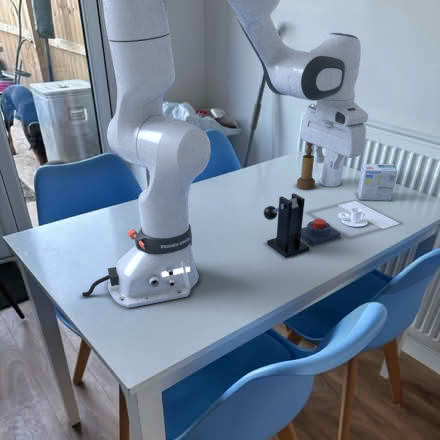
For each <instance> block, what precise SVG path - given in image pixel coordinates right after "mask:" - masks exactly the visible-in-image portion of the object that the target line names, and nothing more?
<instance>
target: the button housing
mask: <svg viewBox="0 0 440 440" xmlns="http://www.w3.org/2000/svg"><path fill="white" fill-rule="evenodd" d="M340 238H341V232H340V231H339V230H337V229H335V228H333V227H332V226H331V224H330V223H329V222H326V225H325V228H323V229H316V228H314V227H313V220H312V221H309V222H308V223H307V224H306V226H305V227H302V230H301V239H300V240H303V241H304V242H305V243H307V244H309V245H310V246H312V247H314V246H317V245H321V244H324V243H328V242H330V241H331V242H332V241H334V240H338V239H340Z"/></svg>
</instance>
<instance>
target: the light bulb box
mask: <svg viewBox="0 0 440 440" xmlns="http://www.w3.org/2000/svg"><path fill="white" fill-rule="evenodd" d="M397 175H398V169H397V167H396V166H395V164H393V163H362V164H361V169H360V176H359V181H358V188H357V196H358V198H359V200H360V201H386V202H388V201H389V202H390V201H392V197H393V194H394V193H393V192H394V188H395V184H396V180H397V177H398V176H397Z"/></svg>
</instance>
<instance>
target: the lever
mask: <svg viewBox="0 0 440 440" xmlns="http://www.w3.org/2000/svg"><path fill="white" fill-rule="evenodd" d="M289 200H290V201H291V202H292V209H294V208H297V207H299V205H298V202H297V198H294V199H289ZM278 210H279V206H278V207H275V206H273V205H268V206H266V207H265V208H264V209H263V216H264V217H263V218H265V219H266V220H267V221H273V220H275V219H276V218H277V217H278Z"/></svg>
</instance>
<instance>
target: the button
mask: <svg viewBox="0 0 440 440" xmlns="http://www.w3.org/2000/svg"><path fill="white" fill-rule="evenodd" d="M312 221H313V227H314V228H316V229H323V228H325V225H326V223H327V221H326V220H325V219H323V218H314V219H313V220H312Z"/></svg>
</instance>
